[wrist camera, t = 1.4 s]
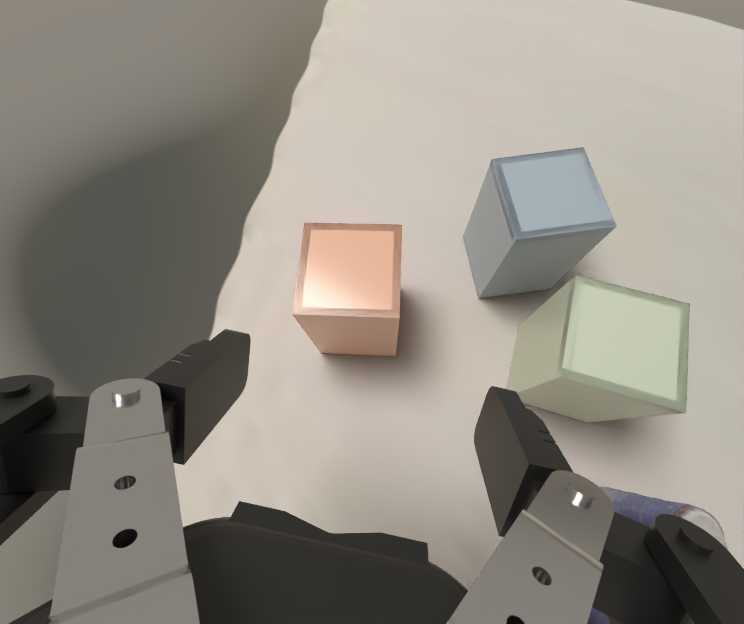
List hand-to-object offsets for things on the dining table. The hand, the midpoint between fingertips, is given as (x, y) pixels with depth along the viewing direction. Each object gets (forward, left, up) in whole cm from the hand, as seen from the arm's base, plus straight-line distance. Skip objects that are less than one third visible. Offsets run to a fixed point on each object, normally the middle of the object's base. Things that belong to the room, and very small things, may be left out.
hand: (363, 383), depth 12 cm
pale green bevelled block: (-14, -4, -18) cm, 23 cm away
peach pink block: (+2, -8, -18) cm, 20 cm away
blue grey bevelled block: (-11, -14, -18) cm, 26 cm away
